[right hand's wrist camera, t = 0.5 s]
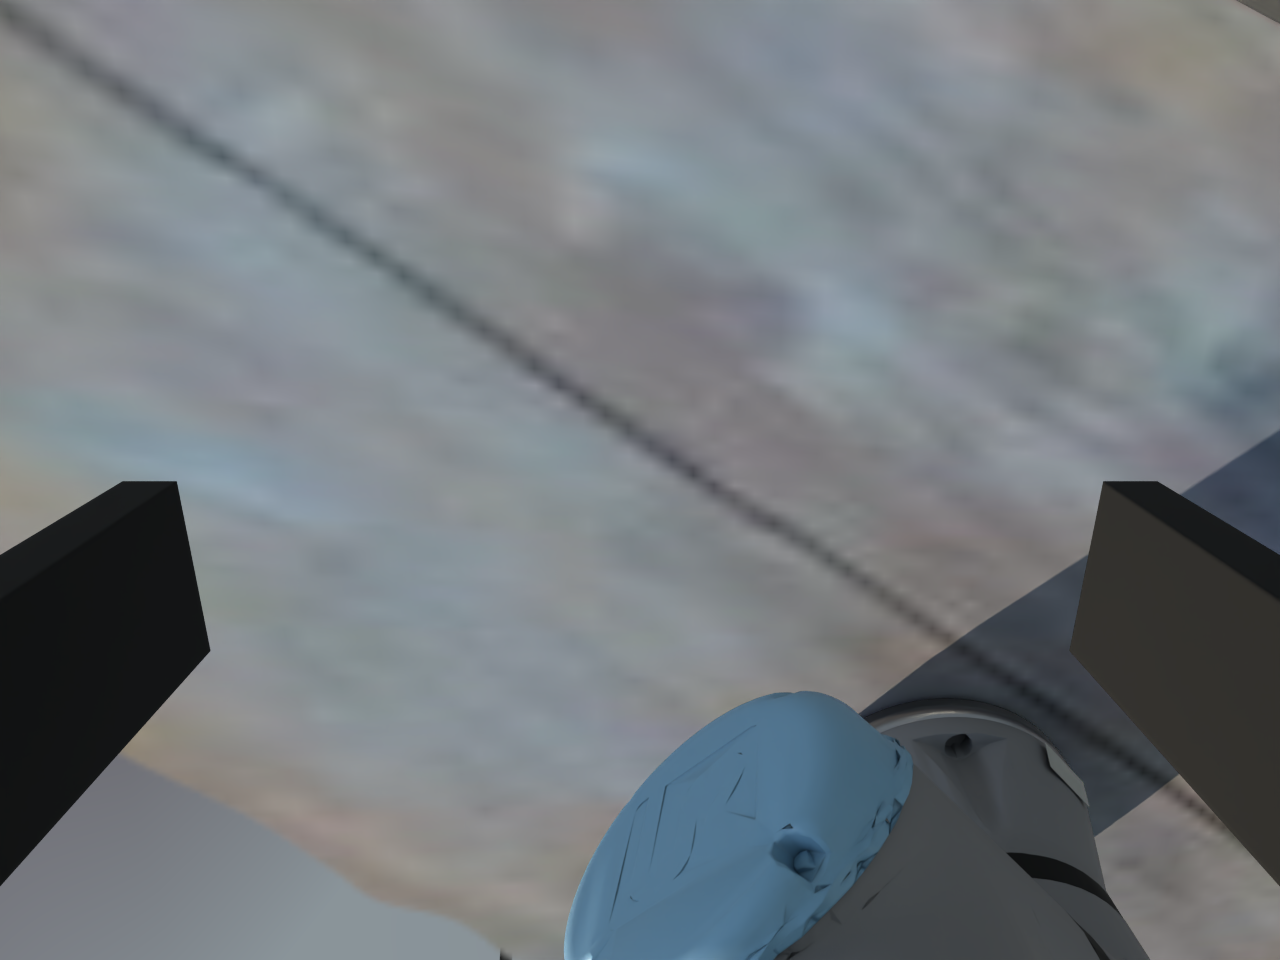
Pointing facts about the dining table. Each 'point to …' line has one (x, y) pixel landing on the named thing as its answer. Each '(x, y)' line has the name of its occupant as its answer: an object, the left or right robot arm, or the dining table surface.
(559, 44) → the dining table surface
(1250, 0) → the bar
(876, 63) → the dining table surface
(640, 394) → the dining table surface
